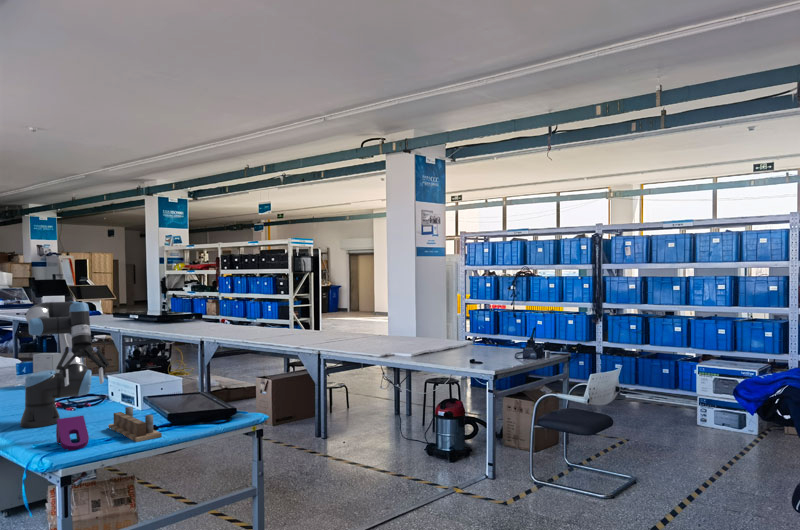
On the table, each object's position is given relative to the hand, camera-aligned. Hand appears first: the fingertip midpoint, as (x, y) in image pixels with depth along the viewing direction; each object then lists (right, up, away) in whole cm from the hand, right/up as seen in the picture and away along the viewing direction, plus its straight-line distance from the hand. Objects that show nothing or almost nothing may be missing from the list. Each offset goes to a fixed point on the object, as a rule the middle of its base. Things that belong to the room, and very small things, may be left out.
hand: (84, 384), depth 243 cm
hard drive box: (-84, -24, +110) cm, 141 cm away
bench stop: (+20, -21, +1) cm, 29 cm away
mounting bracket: (+4, -21, -16) cm, 27 cm away
